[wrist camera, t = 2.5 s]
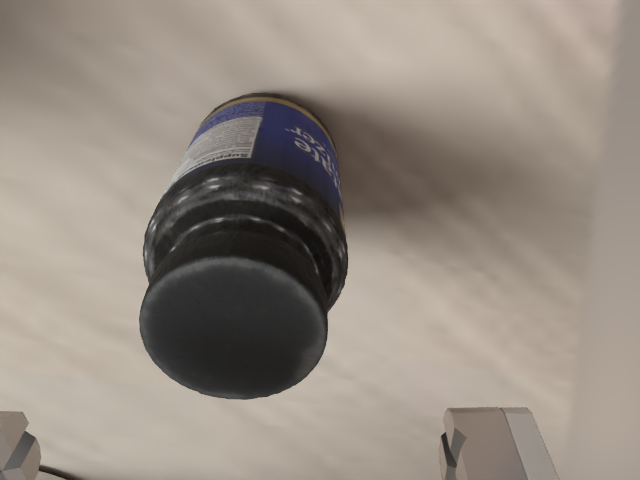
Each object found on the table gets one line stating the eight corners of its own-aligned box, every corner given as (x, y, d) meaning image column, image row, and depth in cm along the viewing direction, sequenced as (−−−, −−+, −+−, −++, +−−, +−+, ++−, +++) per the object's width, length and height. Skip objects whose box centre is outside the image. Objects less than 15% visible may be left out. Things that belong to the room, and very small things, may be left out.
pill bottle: (358, 192, 23) (393, 380, 14) (237, 242, 25) (194, 445, 15) (298, 62, 20) (290, 189, 11) (163, 126, 22) (52, 290, 12)
